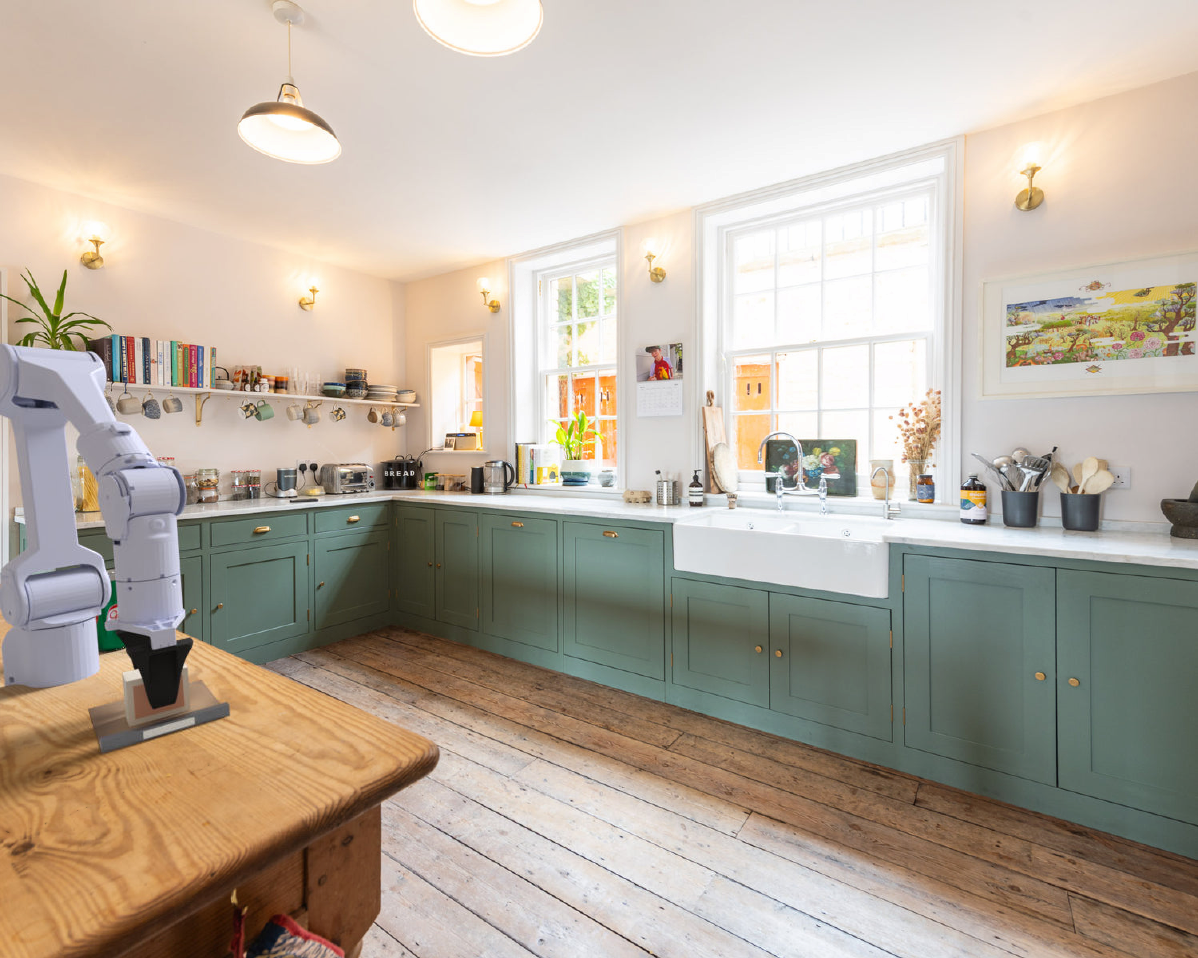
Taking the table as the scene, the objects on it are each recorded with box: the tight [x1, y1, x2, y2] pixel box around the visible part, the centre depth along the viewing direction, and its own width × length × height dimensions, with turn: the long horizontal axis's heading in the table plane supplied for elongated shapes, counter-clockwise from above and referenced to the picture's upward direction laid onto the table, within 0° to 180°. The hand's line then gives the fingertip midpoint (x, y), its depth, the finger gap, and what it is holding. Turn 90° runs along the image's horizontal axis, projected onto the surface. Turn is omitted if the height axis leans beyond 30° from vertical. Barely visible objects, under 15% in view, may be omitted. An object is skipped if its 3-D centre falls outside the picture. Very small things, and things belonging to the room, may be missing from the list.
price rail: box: [99, 701, 231, 754], centre depth 62 cm, size 11×1×1 cm, turn 135°
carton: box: [122, 662, 191, 727], centre depth 67 cm, size 6×4×5 cm, turn 134°
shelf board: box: [88, 679, 231, 754], centre depth 67 cm, size 11×14×2 cm
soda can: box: [96, 568, 125, 652], centre depth 93 cm, size 5×5×12 cm
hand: (157, 694), depth 67 cm, fingers open, 7 cm apart
